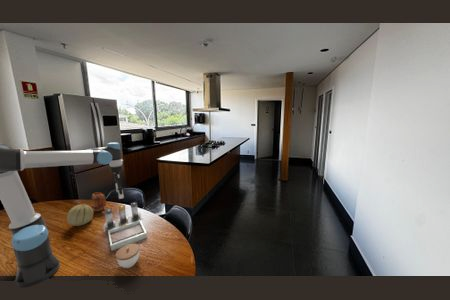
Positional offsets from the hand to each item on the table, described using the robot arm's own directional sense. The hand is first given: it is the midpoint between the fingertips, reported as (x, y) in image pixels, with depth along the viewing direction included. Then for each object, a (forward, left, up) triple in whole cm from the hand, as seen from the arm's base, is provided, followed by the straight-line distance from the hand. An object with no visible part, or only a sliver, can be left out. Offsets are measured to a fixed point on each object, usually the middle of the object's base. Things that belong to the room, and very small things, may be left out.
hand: (120, 194), depth 126 cm
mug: (+33, +12, -23) cm, 42 cm away
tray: (-17, 0, -22) cm, 28 cm away
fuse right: (0, -8, -21) cm, 22 cm away
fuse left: (0, +8, -21) cm, 22 cm away
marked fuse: (0, 0, -21) cm, 21 cm away
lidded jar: (-42, +3, -23) cm, 48 cm away
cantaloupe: (+18, +24, -23) cm, 38 cm away
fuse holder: (0, 0, -22) cm, 22 cm away
